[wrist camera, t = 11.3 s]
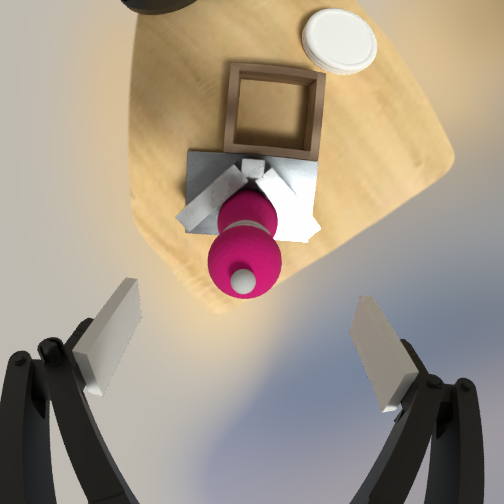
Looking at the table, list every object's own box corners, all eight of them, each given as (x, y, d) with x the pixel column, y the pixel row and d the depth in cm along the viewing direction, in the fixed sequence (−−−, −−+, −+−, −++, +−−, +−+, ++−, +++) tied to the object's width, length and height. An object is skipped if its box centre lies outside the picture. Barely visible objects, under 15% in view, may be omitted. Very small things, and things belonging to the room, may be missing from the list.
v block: (187, 230, 40) (174, 248, 33) (189, 151, 36) (176, 153, 29) (305, 239, 41) (316, 259, 34) (316, 161, 36) (330, 166, 30)
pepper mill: (215, 230, 39) (183, 316, 20) (228, 179, 36) (201, 225, 18) (267, 243, 40) (277, 337, 21) (282, 193, 37) (310, 253, 18)
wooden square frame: (233, 72, 32) (231, 62, 27) (316, 81, 32) (325, 73, 28) (226, 150, 36) (223, 151, 31) (309, 158, 36) (317, 161, 32)
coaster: (363, 85, 32) (373, 81, 29) (295, 64, 31) (299, 57, 28) (372, 30, 29) (382, 22, 25) (307, 8, 28) (312, -2, 24)
